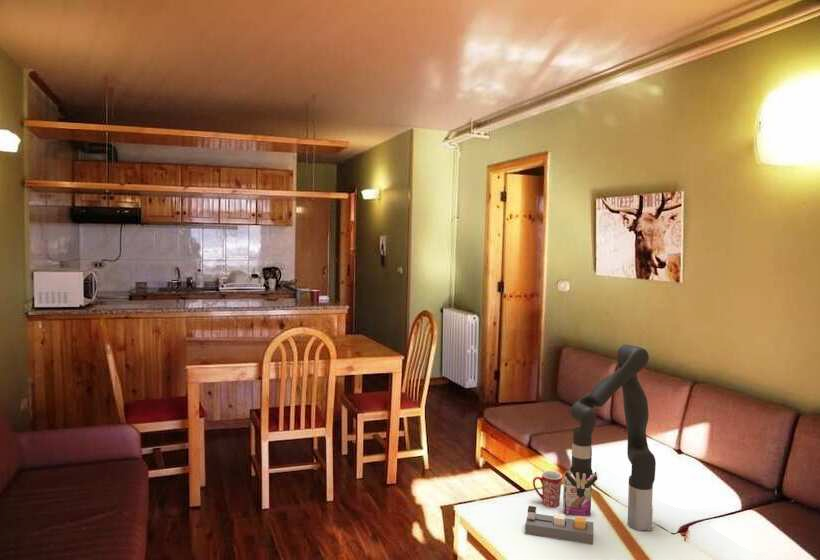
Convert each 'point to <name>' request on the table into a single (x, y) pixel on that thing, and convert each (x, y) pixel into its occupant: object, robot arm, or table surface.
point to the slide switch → (531, 512)
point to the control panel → (559, 529)
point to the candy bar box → (576, 499)
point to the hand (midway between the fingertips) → (580, 496)
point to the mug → (550, 488)
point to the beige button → (559, 519)
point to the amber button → (580, 523)
